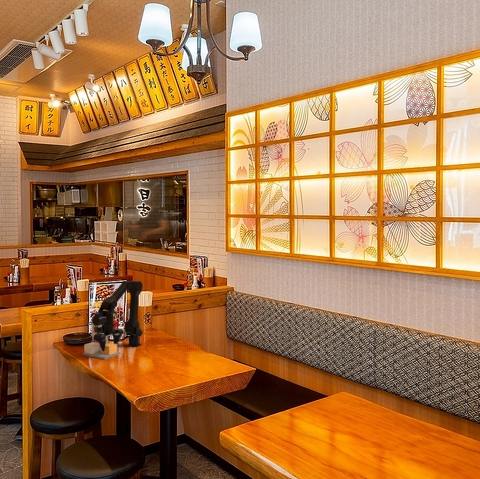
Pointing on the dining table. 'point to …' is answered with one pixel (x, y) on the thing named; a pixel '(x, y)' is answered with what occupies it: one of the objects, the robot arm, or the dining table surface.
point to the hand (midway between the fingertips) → (109, 349)
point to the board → (96, 351)
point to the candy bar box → (96, 333)
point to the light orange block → (110, 348)
